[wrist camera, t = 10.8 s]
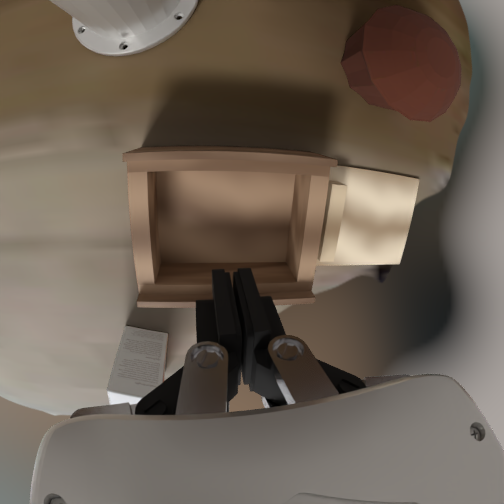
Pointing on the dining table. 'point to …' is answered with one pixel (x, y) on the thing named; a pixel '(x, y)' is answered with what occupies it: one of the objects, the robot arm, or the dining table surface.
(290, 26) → the dining table surface
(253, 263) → the walnut box
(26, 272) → the dining table surface
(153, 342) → the small box
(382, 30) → the muffin
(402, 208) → the lid
